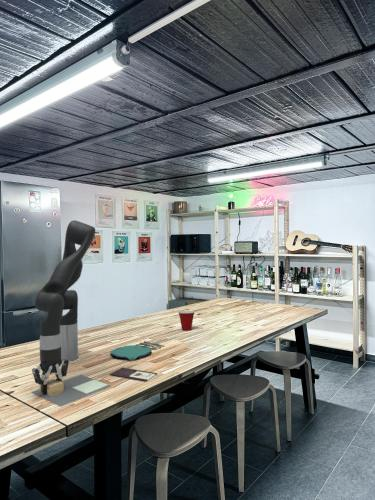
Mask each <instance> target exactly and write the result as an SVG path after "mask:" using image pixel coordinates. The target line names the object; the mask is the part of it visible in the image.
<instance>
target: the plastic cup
mask: <svg viewBox="0 0 375 500" xmlns="http://www.w3.org/2000/svg"><path fill="white" fill-rule="evenodd" d="M177 313H178V315H179V320H180V325H181V329H182V331H184V332H188V331H189V332H190V331H191V330H192V327H193V322H194V321H193V319H194V315H195V313H196V311H194V310H180V311H177Z"/></svg>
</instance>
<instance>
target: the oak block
mask: <svg viewBox="0 0 375 500" xmlns="http://www.w3.org/2000/svg"><path fill="white" fill-rule="evenodd" d="M56 379H57V378H56ZM56 379H55V378H53V377H51V378H48V380H47V383H46V384H47V395H49V396H51V397H52V396H54V395H57V394H60V393H62V392H64V383H63V382H61V381H58V380H56ZM39 389H40V391H41V385H39Z"/></svg>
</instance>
